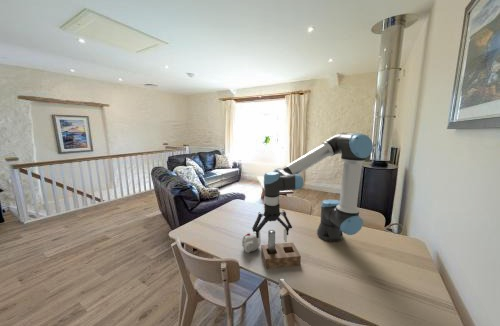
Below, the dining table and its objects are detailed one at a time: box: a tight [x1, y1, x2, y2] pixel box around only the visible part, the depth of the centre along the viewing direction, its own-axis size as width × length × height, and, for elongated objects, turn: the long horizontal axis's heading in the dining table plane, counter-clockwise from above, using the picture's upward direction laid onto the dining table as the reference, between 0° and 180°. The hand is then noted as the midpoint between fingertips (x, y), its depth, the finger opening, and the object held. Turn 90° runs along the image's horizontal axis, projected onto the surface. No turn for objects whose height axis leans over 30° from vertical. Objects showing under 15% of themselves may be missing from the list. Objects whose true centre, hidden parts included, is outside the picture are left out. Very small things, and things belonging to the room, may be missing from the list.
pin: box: [267, 229, 276, 254], centre depth 105 cm, size 4×4×15 cm
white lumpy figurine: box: [241, 232, 262, 254], centre depth 117 cm, size 9×11×15 cm
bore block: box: [260, 242, 302, 269], centre depth 107 cm, size 18×12×5 cm, turn 97°
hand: (272, 241), depth 105 cm, fingers open, 13 cm apart
